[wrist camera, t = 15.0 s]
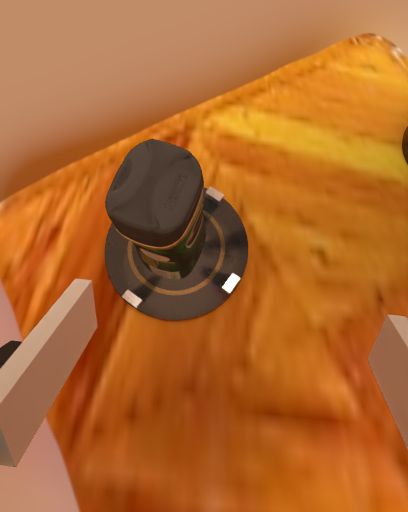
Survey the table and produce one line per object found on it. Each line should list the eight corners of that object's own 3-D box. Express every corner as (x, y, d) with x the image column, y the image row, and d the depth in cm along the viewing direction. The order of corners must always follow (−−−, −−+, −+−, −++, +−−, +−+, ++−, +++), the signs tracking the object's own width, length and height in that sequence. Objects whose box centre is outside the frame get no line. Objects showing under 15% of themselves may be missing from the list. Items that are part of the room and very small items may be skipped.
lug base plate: (273, 235, 47) (277, 227, 44) (191, 351, 43) (190, 351, 40) (165, 165, 51) (162, 153, 48) (79, 265, 46) (70, 259, 43)
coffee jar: (161, 207, 47) (132, 119, 29) (212, 225, 46) (215, 145, 28) (133, 268, 44) (83, 212, 26) (187, 288, 43) (173, 244, 25)
